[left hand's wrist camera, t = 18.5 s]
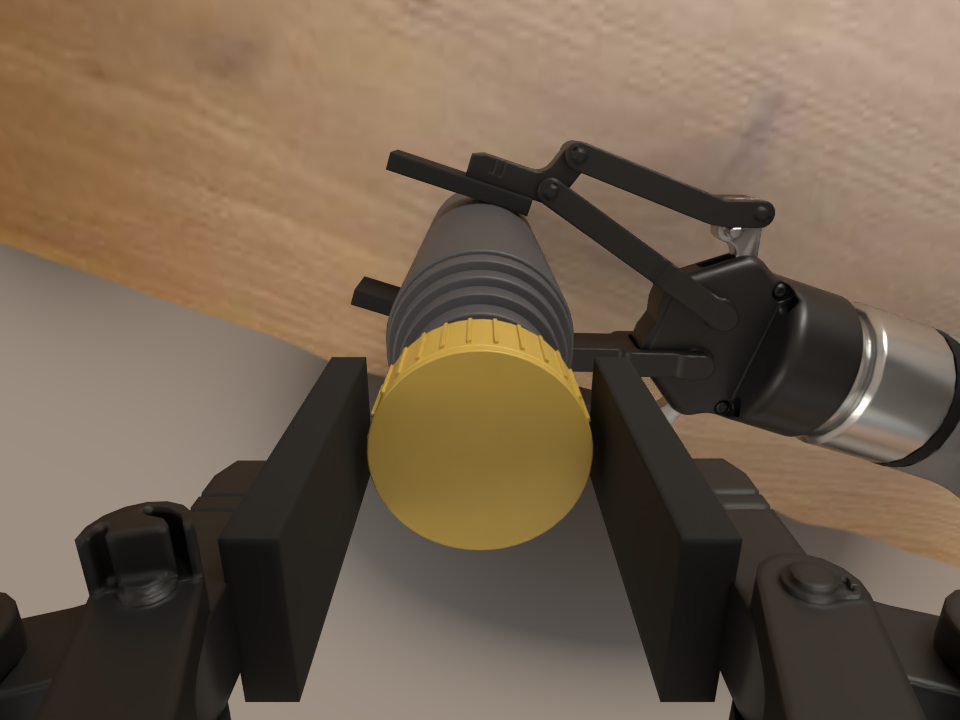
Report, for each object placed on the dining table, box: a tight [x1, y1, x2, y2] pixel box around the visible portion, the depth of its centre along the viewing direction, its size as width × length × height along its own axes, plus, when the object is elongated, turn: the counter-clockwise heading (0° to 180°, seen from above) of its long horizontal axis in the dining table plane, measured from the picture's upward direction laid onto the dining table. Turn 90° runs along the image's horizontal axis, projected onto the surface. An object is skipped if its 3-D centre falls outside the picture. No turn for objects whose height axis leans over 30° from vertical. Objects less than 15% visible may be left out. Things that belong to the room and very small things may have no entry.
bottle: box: [386, 193, 574, 369], centre depth 25 cm, size 6×6×25 cm
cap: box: [367, 318, 593, 550], centre depth 13 cm, size 5×5×2 cm
